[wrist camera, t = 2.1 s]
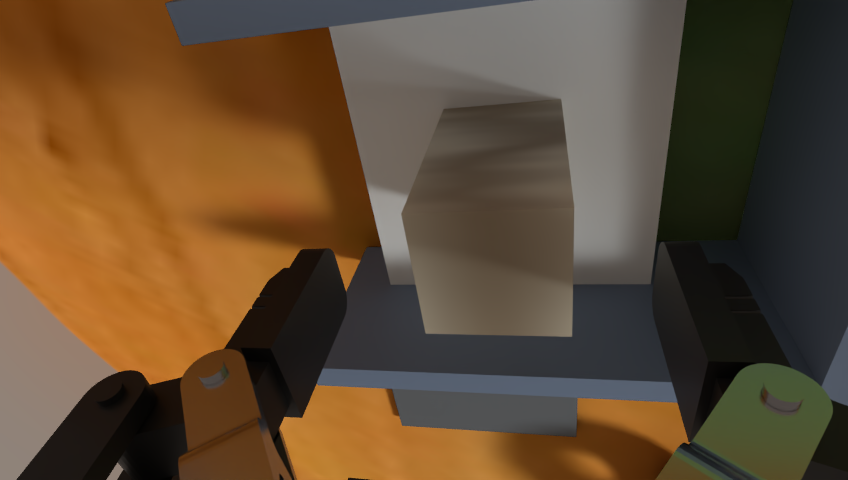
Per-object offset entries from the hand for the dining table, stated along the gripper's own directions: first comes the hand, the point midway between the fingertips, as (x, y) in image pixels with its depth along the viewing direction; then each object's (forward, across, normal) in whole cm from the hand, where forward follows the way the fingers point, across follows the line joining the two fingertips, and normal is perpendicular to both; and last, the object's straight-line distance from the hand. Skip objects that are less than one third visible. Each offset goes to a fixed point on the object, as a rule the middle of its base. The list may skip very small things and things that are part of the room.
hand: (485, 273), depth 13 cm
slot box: (+10, -1, 0) cm, 10 cm away
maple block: (+7, 0, 0) cm, 7 cm away
